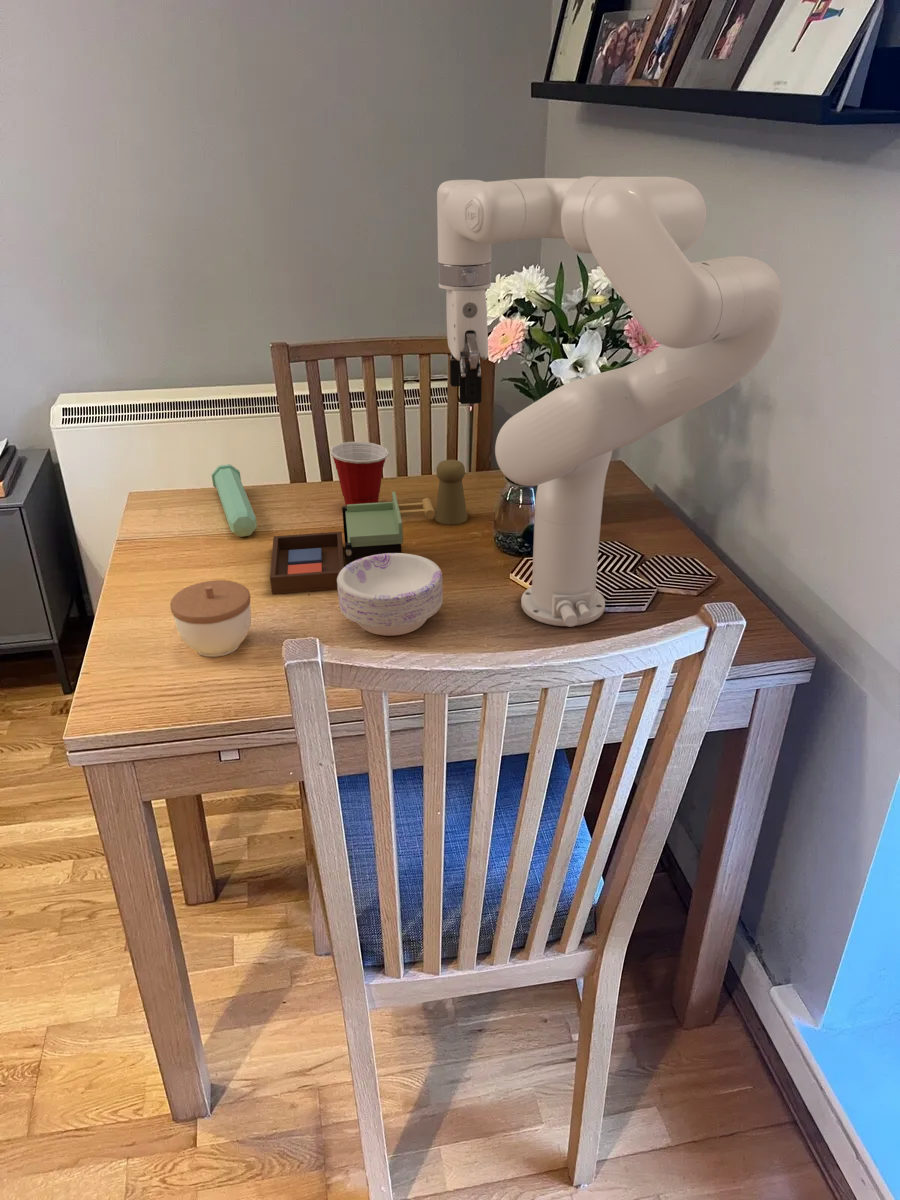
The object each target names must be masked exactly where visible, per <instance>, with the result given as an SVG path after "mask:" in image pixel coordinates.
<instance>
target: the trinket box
mask: <svg viewBox="0 0 900 1200" xmlns="http://www.w3.org/2000/svg"><path fill="white" fill-rule="evenodd" d="M169 603H170V605H169V606H170V610H171V614H172V617H173V621H174V625H175V627H176V630H177V633H178V635H179V637H180V639H181V640H182V641H183V643H184V644H185V645H187V646H188V647H189V648H190V649H192V650H194V651H195V652H197V653H198V654H199V655H201V656H203V657H208V658H218V657H223V656H226V655H230V654H232V653H234V652H235V651H236V650H237V649H239V647H240V645H241V643H243V642H244V640H245V639H246V637H247V636H248V634H249V631H250V628H251V623H252V607H251V593H250V590H249V589H248V588H247V587H246V586H245V585H243V584H241V583H239V582H236V581H231V580H224V579H223V580H220V579H217V580H216V579H215V580H207V581H202V582H198V583H195V584H191V585H189V586H186V587H184V588H183V589H180V590H179V591H178V592H176V594H174V595H173V596H172V598H171V600H170V602H169Z"/></svg>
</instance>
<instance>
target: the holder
mask: <svg viewBox="0 0 900 1200" xmlns="http://www.w3.org/2000/svg"><path fill="white" fill-rule="evenodd" d="M272 540H273V541H272V549H271V550H272V551H271V561H270V562H271V563H270V571H269V572H270V573H269V581H270V589H271V595H281V594H295V593H296V594H297V593H309V592H320V591H333V590H334V591H335V590H338V588H337V586H338V585H337V577H338V574H339V573H340V571H341V570H342V569H343V568H344V567H345V556H344V544H343V533H342V531H331V532H315V533H301V534H287V535H274V536H273V539H272ZM311 548H321V550H322V572H310V573H297V574H288V555H289V550H298V549H311Z"/></svg>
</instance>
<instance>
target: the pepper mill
mask: <svg viewBox="0 0 900 1200" xmlns="http://www.w3.org/2000/svg"><path fill="white" fill-rule="evenodd" d="M435 473H436V476H437V478H438V480H439V482H438V489H437V499H436V505H435V506H436V507H435V516H434V519H435V521H436V522H437V523H439V524H443V525H449V526H450V525H459V524H462V523H464V522H466V521H467V520H468V511H467V506H466V505H467V504H466V499H465V492H464V485H463V484H464V483H463V478H464V477H465V475H466V467H465V465H464V463H463V462H462V461H460V460H458V459H445V460H441V461H440V462H439V463H438V464H437V466H436V471H435Z"/></svg>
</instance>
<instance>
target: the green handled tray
mask: <svg viewBox="0 0 900 1200" xmlns="http://www.w3.org/2000/svg"><path fill="white" fill-rule="evenodd" d="M398 502H399V501H398V497H397V493H396V491H391V501H382V502H379V501H378V503H364V504H349V505H347V511H345V513H346V525H347V536H348V543H351V544H352V547H362V546H376V545H390V544H401V545H402V544H404V532H403V531H404V530H403V529H404V528H403V520H402V518H404V517H419V516H425V518H426V519H427V520H432V519H435V515H436V511H435V509H434V506H433V503H432V500H431V498H429V497H425V498H423V499H422V500H421V502H407V503H406V502H405V503H398Z"/></svg>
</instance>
